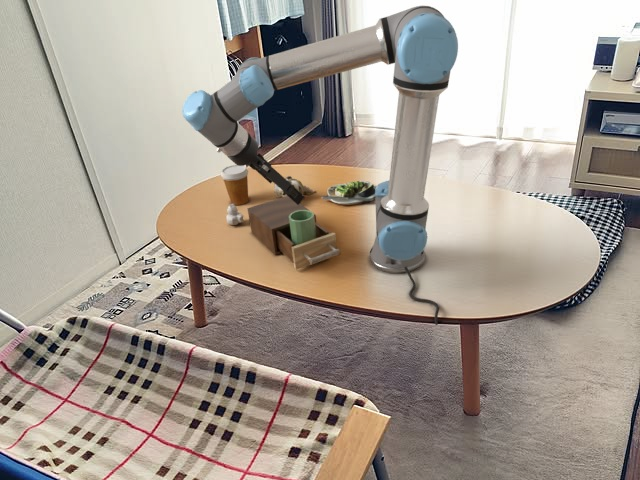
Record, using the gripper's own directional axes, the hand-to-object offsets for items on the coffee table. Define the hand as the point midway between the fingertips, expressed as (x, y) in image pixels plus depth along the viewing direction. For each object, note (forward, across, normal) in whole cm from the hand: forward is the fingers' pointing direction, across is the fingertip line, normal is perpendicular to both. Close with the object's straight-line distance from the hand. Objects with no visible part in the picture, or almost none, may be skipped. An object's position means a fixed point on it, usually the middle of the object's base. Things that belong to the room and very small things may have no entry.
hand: (286, 189), depth 150 cm
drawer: (+20, +3, -10) cm, 22 cm away
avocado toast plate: (+45, -20, +15) cm, 52 cm away
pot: (+19, +1, -9) cm, 21 cm away
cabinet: (+23, -13, -11) cm, 29 cm away
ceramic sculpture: (+36, -34, +1) cm, 50 cm away
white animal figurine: (+21, -31, -18) cm, 42 cm away
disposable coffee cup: (+29, -46, -12) cm, 56 cm away
